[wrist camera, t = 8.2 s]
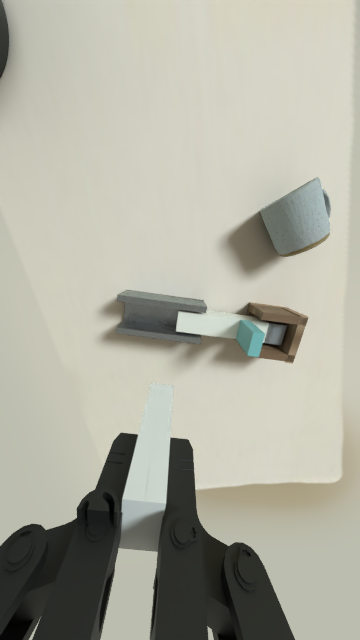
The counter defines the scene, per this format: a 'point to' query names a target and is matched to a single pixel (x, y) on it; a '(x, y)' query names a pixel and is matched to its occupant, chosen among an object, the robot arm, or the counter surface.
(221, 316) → the rod
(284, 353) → the socket
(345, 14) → the counter surface
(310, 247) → the ceramic mug
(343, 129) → the counter surface
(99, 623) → the robot arm
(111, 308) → the counter surface
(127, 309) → the channel
